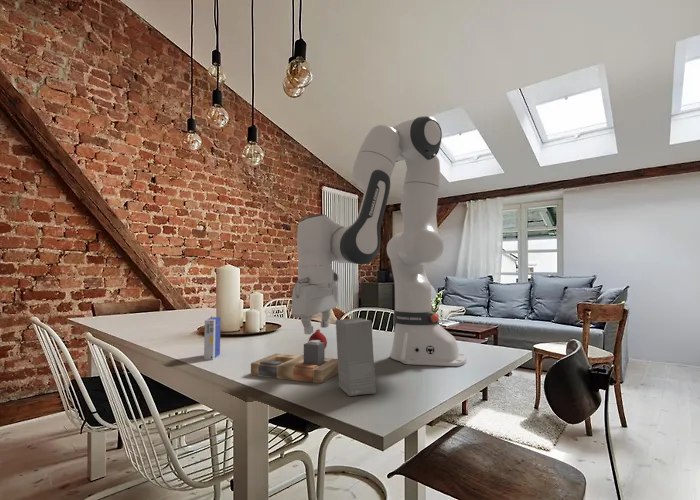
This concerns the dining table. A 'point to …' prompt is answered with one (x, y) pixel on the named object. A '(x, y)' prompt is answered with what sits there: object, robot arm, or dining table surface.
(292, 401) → the dining table surface
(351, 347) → the skincare box
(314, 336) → the onion
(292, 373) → the socket board
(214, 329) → the walkman
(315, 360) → the plug
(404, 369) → the dining table surface
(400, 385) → the dining table surface
